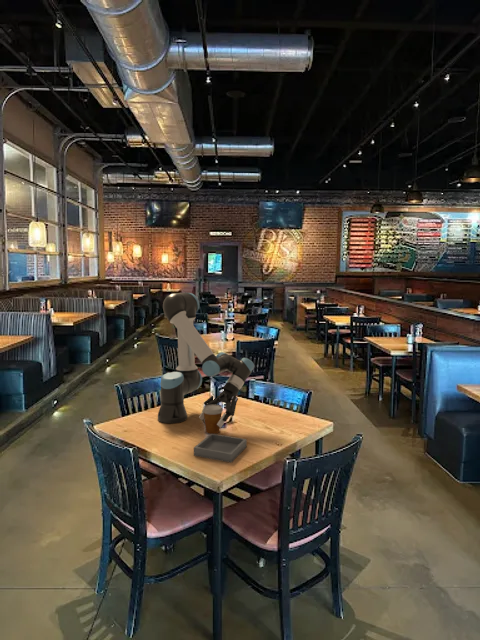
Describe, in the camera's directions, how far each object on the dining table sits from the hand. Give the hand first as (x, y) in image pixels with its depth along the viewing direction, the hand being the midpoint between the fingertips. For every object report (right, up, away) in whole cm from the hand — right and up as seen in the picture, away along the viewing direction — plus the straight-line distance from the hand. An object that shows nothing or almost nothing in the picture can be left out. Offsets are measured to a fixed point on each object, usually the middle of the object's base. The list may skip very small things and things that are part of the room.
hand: (209, 422), depth 207 cm
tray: (+6, -7, -20) cm, 23 cm away
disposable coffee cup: (+1, -5, +2) cm, 6 cm away
